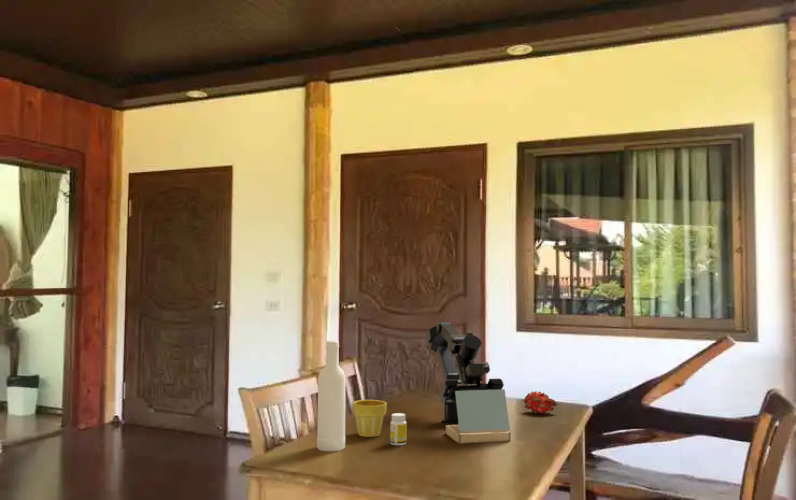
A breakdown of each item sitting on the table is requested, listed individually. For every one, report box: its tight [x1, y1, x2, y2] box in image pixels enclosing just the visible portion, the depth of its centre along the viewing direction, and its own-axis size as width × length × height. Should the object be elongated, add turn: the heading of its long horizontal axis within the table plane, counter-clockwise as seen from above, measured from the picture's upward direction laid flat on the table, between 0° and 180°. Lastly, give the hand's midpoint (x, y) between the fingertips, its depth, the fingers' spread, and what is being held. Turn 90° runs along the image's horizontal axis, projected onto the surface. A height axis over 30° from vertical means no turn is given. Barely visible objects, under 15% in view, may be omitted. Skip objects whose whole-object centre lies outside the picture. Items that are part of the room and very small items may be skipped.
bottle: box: [316, 340, 347, 452], centre depth 185 cm, size 8×8×30 cm
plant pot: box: [352, 399, 388, 438], centre depth 202 cm, size 10×10×10 cm
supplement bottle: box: [389, 412, 408, 446], centre depth 190 cm, size 5×5×8 cm
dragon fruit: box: [522, 390, 558, 416], centre depth 236 cm, size 8×8×12 cm
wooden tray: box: [445, 424, 511, 445], centre depth 199 cm, size 13×16×2 cm
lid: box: [455, 388, 511, 434], centre depth 195 cm, size 12×16×1 cm
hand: (479, 410), depth 198 cm, fingers open, 9 cm apart
